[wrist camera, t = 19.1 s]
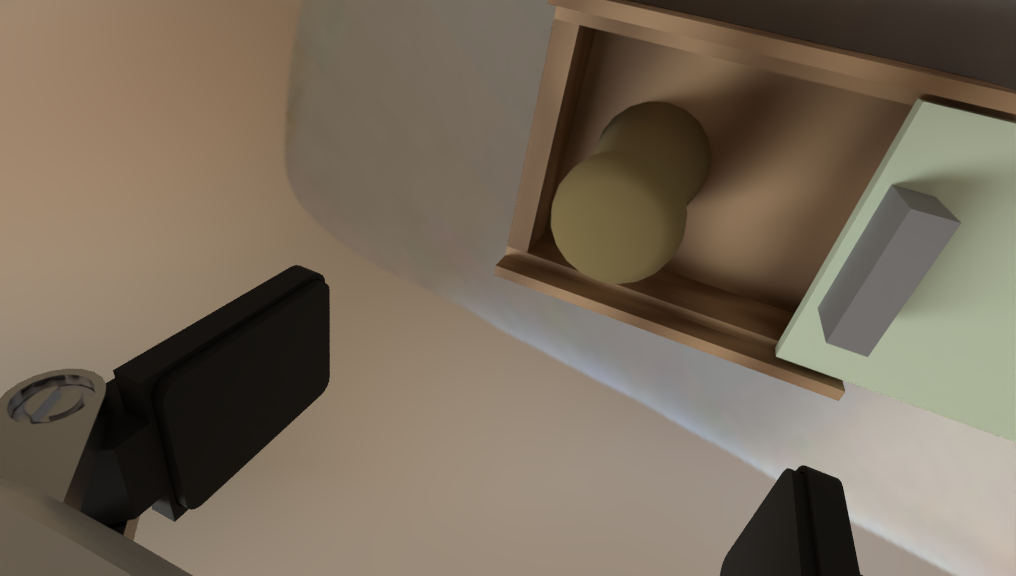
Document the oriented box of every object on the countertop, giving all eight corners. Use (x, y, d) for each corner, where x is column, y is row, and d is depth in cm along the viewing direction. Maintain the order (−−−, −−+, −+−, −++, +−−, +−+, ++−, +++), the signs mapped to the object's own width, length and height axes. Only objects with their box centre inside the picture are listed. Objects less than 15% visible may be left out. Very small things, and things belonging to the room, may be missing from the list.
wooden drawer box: (984, 80, 23) (1048, 101, 18) (823, 337, 30) (838, 400, 25) (584, -10, 27) (550, -13, 22) (528, 236, 34) (494, 274, 29)
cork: (575, 177, 30) (504, 251, 21) (633, 78, 27) (578, 116, 18) (666, 234, 30) (632, 334, 21) (737, 141, 27) (734, 213, 18)
